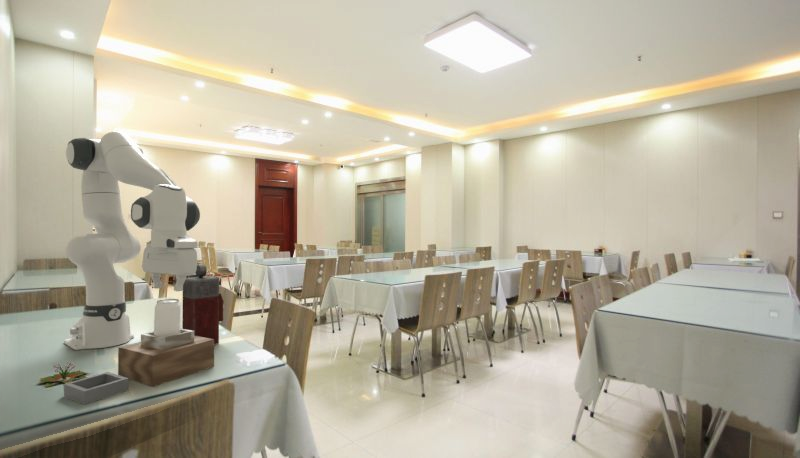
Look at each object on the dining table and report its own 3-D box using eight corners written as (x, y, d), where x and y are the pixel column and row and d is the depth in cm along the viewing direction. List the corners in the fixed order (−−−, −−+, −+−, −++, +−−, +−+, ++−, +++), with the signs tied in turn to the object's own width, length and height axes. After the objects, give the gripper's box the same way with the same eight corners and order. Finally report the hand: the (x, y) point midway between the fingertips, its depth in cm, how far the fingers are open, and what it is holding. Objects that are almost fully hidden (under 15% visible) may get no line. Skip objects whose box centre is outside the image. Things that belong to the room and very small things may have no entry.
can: (167, 346, 113) (168, 303, 113) (148, 344, 114) (149, 301, 114) (184, 340, 119) (186, 299, 119) (166, 338, 121) (167, 298, 121)
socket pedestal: (118, 376, 112) (118, 336, 112) (180, 358, 128) (180, 323, 128) (152, 386, 105) (153, 343, 105) (214, 366, 121) (214, 329, 121)
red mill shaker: (225, 341, 147) (225, 264, 147) (193, 348, 138) (194, 266, 139) (213, 337, 153) (213, 263, 153) (181, 344, 144) (182, 264, 144)
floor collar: (63, 396, 99) (63, 384, 99) (107, 383, 107) (107, 371, 107) (84, 404, 94) (84, 391, 94) (128, 390, 102) (128, 378, 102)
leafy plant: (85, 370, 119) (85, 354, 119) (97, 380, 111) (97, 363, 111) (30, 381, 109) (30, 364, 109) (38, 393, 102) (38, 375, 102)
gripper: (136, 240, 119) (135, 287, 119) (180, 242, 109) (179, 294, 109) (157, 239, 124) (157, 285, 124) (201, 242, 115) (200, 291, 115)
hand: (167, 289), depth 117 cm, fingers open, 8 cm apart
